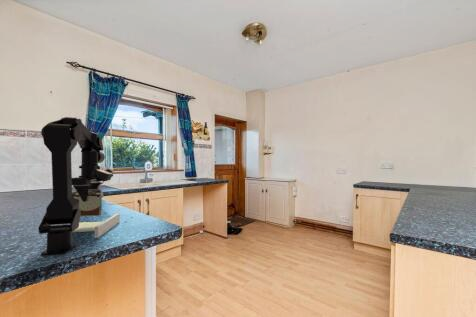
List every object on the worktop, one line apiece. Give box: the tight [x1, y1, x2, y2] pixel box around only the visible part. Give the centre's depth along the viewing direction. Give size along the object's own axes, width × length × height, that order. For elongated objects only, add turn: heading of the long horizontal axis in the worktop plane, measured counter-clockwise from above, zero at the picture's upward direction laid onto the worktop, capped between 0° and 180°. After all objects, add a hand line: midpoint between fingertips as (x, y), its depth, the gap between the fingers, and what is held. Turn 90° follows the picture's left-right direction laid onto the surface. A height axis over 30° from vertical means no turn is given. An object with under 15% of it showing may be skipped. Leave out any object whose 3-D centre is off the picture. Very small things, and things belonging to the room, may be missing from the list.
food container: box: [72, 188, 104, 217], centre depth 90 cm, size 12×6×10 cm, turn 97°
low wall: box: [94, 212, 121, 239], centre depth 87 cm, size 20×1×4 cm, turn 9°
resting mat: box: [72, 221, 103, 233], centre depth 89 cm, size 12×15×1 cm
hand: (88, 200), depth 89 cm, fingers closed on food container, 6 cm apart
